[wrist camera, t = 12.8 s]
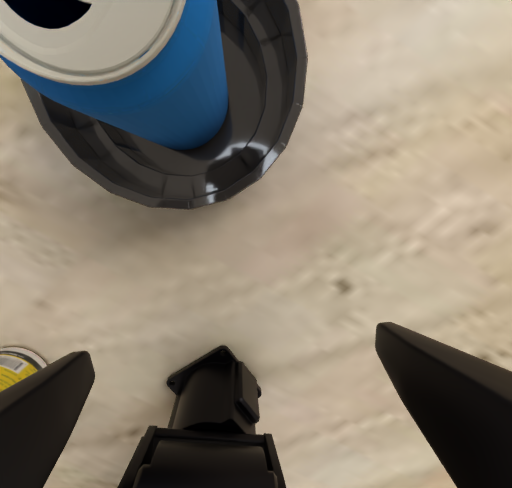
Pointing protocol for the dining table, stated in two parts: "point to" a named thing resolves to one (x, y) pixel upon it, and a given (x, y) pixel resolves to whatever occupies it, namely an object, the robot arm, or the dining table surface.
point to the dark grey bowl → (227, 138)
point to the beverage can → (124, 62)
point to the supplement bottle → (17, 365)
